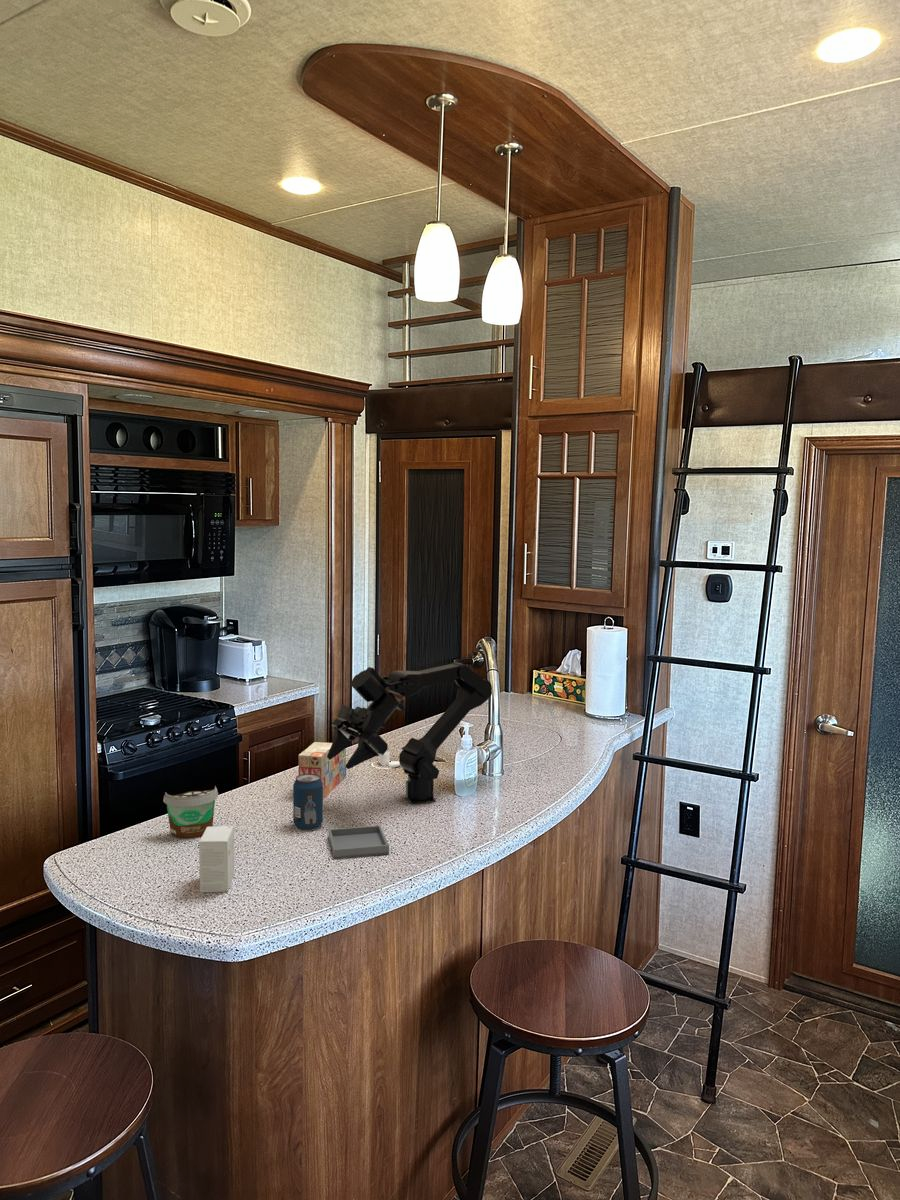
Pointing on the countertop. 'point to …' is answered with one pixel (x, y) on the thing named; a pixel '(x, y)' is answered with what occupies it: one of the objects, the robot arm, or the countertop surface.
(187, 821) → the food container
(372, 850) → the tray
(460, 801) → the countertop surface
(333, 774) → the stack of blocks
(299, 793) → the soda can
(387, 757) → the teacup and saucer
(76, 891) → the countertop surface
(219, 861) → the small box
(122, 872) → the countertop surface
